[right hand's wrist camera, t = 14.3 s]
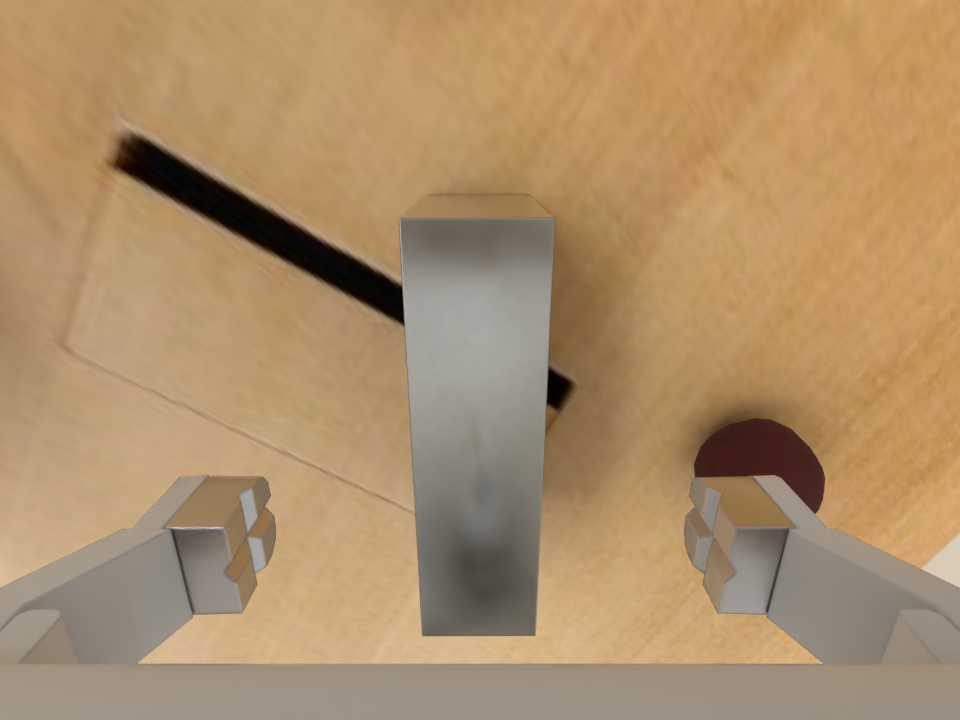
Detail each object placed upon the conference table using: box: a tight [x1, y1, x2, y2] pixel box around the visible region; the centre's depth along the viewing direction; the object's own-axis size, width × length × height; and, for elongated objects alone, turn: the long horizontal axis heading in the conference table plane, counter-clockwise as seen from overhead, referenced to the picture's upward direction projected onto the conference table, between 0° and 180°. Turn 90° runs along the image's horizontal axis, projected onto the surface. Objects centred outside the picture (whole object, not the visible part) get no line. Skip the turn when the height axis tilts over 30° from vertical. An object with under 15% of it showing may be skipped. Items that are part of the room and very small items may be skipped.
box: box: [399, 195, 555, 636], centre depth 31 cm, size 23×6×12 cm, turn 0°
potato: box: [694, 418, 825, 514], centre depth 36 cm, size 7×8×7 cm
